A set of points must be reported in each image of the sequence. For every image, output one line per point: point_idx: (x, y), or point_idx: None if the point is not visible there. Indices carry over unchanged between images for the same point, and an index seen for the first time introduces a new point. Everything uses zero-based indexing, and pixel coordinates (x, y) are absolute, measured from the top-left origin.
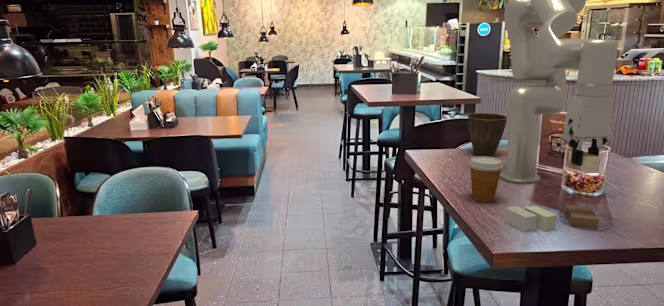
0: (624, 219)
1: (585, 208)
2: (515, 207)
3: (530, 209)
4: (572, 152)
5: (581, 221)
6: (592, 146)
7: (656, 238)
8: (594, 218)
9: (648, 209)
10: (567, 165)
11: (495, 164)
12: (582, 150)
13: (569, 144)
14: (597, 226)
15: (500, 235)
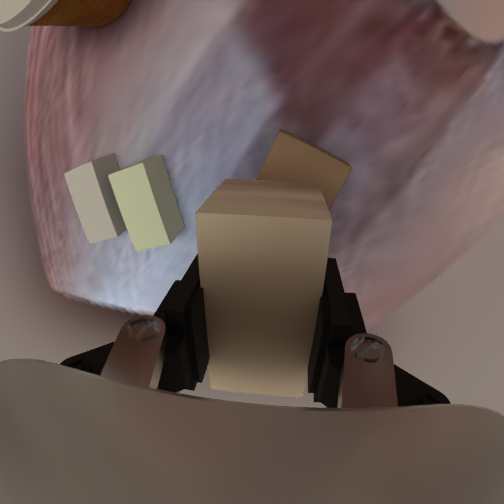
0: (420, 211)
1: (324, 178)
2: (85, 173)
3: (117, 193)
4: (157, 315)
5: None
6: (325, 374)
7: (385, 314)
8: None
9: None
10: (225, 179)
11: (19, 15)
12: (190, 387)
13: (97, 353)
14: None
15: (64, 234)
